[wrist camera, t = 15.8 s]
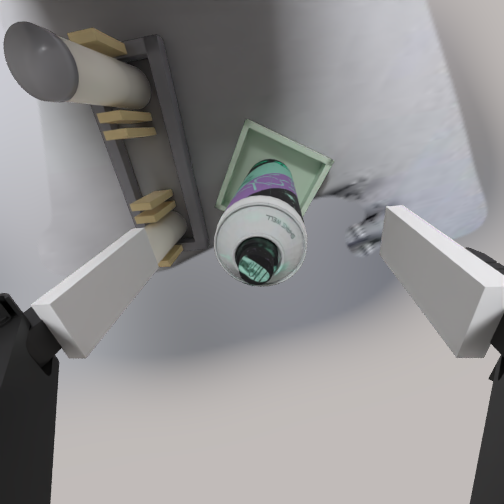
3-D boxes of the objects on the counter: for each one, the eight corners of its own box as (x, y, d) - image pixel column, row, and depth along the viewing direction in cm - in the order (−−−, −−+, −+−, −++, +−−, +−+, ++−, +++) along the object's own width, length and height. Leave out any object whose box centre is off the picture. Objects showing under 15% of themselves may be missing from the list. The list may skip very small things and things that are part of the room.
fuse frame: (82, 56, 26) (30, 38, 20) (162, 39, 24) (130, 15, 19) (150, 248, 36) (128, 270, 31) (209, 244, 35) (197, 266, 29)
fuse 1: (117, 57, 25) (0, 8, 15) (155, 75, 26) (68, 40, 15) (112, 100, 27) (6, 85, 17) (148, 116, 28) (66, 111, 17)
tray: (248, 119, 27) (245, 118, 25) (329, 158, 28) (334, 161, 26) (218, 201, 31) (214, 207, 29) (289, 232, 32) (290, 239, 30)
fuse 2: (161, 205, 32) (105, 243, 22) (191, 217, 33) (149, 261, 22) (155, 231, 34) (100, 277, 24) (183, 242, 35) (141, 293, 24)
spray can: (291, 204, 30) (308, 318, 13) (247, 203, 31) (205, 312, 13) (294, 158, 28) (321, 219, 10) (246, 158, 28) (193, 215, 10)
